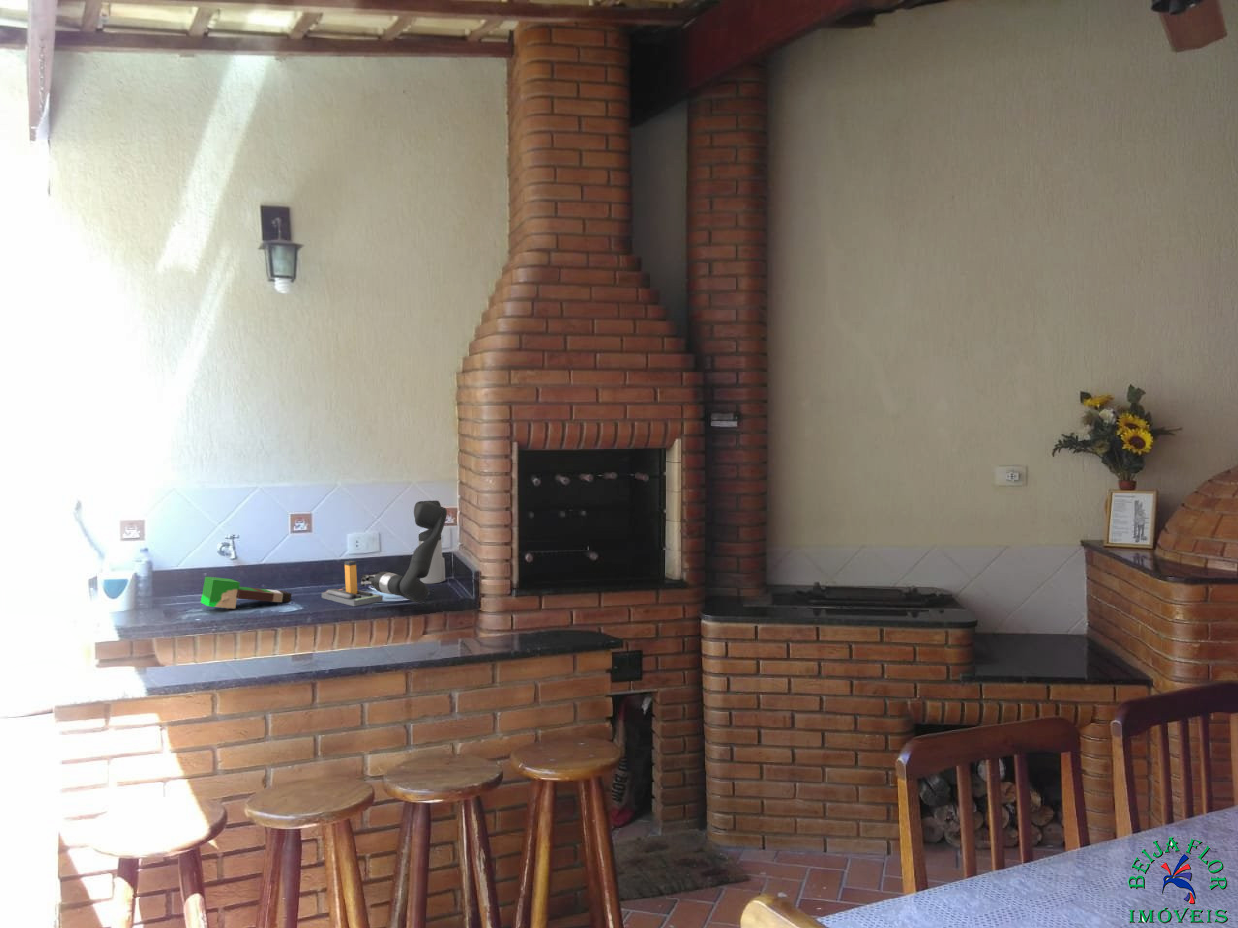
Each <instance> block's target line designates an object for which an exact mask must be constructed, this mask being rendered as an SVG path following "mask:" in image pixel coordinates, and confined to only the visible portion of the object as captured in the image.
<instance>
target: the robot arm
mask: <svg viewBox="0 0 1238 928" xmlns="http://www.w3.org/2000/svg"><path fill="white" fill-rule="evenodd" d="M447 515H448V512H447V508H445V507H444V506H442V505H441V502H440V500H436V499H435V500H434V499H433V500H421V501H420V500H419V501H417V502H416V503H415V504H414V506H413V517H414V522H415V524H416V526H418V527H420V528H421V529H422V528H423V529H427V530H423V531H422V532H420V533H419V534H418V546H417V547H416V549H414V551H413V553H412V556H411V559H410V563H409V567H408V569H407V571H406V572H405V574H404V576H403V575H398V574H397V573H392V572H389V571H380V572H378V573H377V574H376V573H375V574H371V575H370V574H362V575H361V579H360V585H361V586H360V587H364V586H365V587H366V586H367V585H368V586H371V587H372V588H373V587H374V590H376V591H377V592H379V593H383V594H387V595H395V596H399V597H402V598H405V599H407V600H408V601H411V602H414V603H421V602H423V601H425V600H427V598H428V597H429V594H430V589H429V587H428V585H427V584H429V585H430V584H431V585H432V584H438V583H442V582H444V581H446V566H445V563H446V562H445V557H443V545H442V544H443V543H442V542H443V541H442V540H443V539H442V533H443V530H444V527H445V525H446V524H445V523H446V520H447Z"/></svg>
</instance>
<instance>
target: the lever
mask: <svg viewBox="0 0 1238 928" xmlns="http://www.w3.org/2000/svg"><path fill="white" fill-rule="evenodd" d="M344 581H345V587H346V592H350V593H354V594H357V590H358V576H357V561H355V560H345V561H344Z"/></svg>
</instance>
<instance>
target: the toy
mask: <svg viewBox="0 0 1238 928" xmlns="http://www.w3.org/2000/svg"><path fill="white" fill-rule="evenodd" d="M240 583H241V582H240V581H237V580H235V579H232V578H223V577H213V576H205V577H204V583H203V587H202V594H201V597H200V603H201V604H202V605H204V606H207V607H212V608H223V609H226V610H228V609H236V608H237V607H236V606H237V601H238V599H240V600H251V601H252V600H253V601H261V602H272V603H273V602H274V603H283V602H285V603H290V602H291V599H292V598H291V597H292V593H290V592H288V591H285V590H277V589H275V590H274V589H266V588H255V587H247V586H240V585H241V584H240Z"/></svg>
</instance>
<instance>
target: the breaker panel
mask: <svg viewBox="0 0 1238 928" xmlns="http://www.w3.org/2000/svg"><path fill="white" fill-rule="evenodd" d="M321 598H322V599H324V600H328V601H332V602H334V603H335V602H336V603H339V604H344V605H348V606H352V607H358V606H363V605H369V604H373V603H379V602H383V601H384V599H383V595H380V594H377V593H373V592H369V591H366V590H365V591H364V590H361V589H357V594H354V593H350V592H346V586H342V588H339V589H337V588H331V589H327V590H326V591H324V592H321Z"/></svg>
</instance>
